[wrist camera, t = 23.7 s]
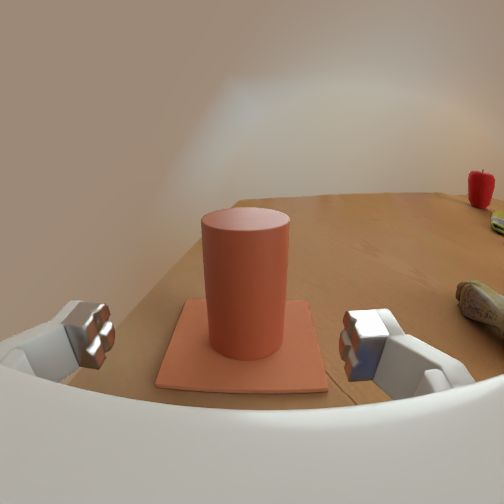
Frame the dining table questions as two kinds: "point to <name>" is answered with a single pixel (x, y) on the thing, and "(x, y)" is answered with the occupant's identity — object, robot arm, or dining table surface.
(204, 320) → the terracotta mat
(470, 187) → the apple
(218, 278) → the terracotta canister
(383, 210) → the dining table surface
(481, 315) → the weathered bone fragment
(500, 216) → the dish towel
